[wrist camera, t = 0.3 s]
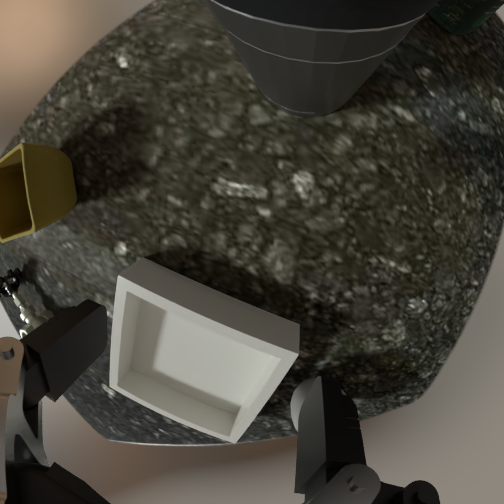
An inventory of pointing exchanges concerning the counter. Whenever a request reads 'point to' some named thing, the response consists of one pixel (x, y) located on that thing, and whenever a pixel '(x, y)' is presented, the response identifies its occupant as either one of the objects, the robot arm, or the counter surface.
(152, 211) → the counter surface
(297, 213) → the counter surface
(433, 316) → the counter surface
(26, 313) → the valve
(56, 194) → the flower pot
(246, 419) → the tray
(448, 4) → the coffee jar
